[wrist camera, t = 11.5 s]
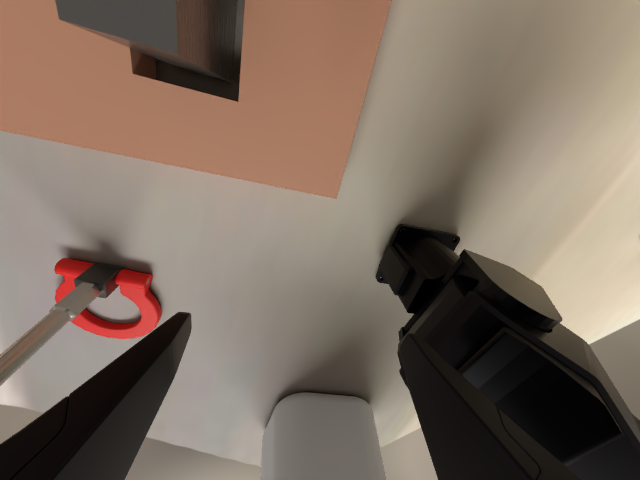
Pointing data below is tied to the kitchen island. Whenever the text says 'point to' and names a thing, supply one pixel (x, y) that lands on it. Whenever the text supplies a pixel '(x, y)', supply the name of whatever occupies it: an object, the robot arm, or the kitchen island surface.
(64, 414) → the robot arm
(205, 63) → the dark gray brick
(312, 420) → the plastic bottle
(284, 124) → the tan flat board
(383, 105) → the kitchen island surface
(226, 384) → the kitchen island surface
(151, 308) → the tow hook
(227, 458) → the kitchen island surface
